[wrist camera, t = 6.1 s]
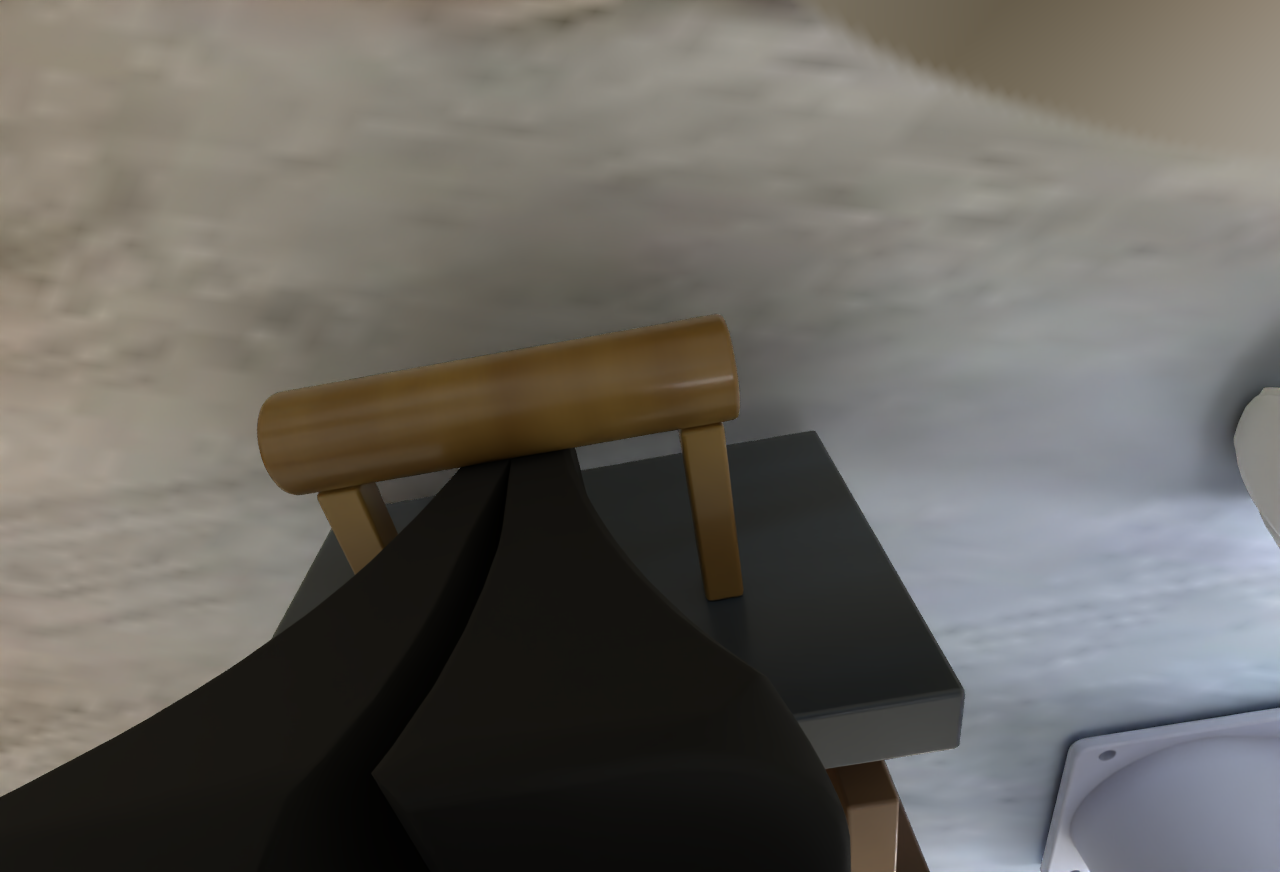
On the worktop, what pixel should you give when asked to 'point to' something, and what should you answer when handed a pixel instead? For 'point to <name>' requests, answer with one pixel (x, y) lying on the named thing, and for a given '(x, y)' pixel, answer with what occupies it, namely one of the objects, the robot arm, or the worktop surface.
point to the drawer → (657, 526)
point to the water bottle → (1261, 455)
